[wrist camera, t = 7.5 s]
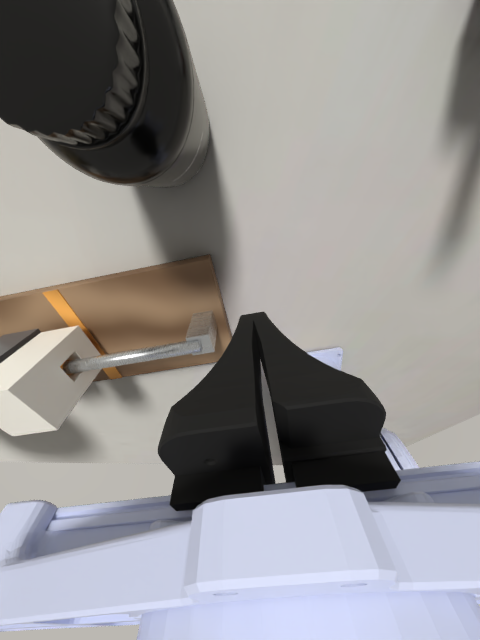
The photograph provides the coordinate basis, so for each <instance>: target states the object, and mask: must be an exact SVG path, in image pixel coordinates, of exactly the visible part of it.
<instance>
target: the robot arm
mask: <svg viewBox="0 0 480 640" xmlns="http://www.w3.org/2000/svg"><path fill="white" fill-rule="evenodd" d="M337 354H338V355H337ZM342 356H343V350H342V349H341V348H332V349H326V350H319V351H313V352H307V353H306V352H305V351H303V350H302V349H300V348H299V347H298V346H296V345H295V344H294V343H292V342H291V341H290V340H289V339H288V338H287V337H286V336H284V335H283V334H282V333H281V332H280V331H279V330H278V328H277V327H276V326H275V325H274V324H273V323H272V322H271V320H270V319H269V318H268V316H267V315H266V313H265V312H258V313H253V314H247V315H242V316H241V317H240V319H239V323H238V325H237V328H236V330H235V333H234V335H233V337H232V339H231V341H230V343H229V344H228V346H227V348H226V350H225V351H224V353H223V355H222V356H221V358H220V359H219V360H218V362H217V363H216V364H215V366H214V367H213V368H212V369H211V371H210V372H209V373H208V374H207V375H206V376H205V378H204V379H203V380H202V381H201V382H200V383H199V384H198V385H197V386H196V387H195V388H194V389H192V390H191V391H190V392H189V393H188V394H187V395H186V396H184V397H183V398H182V399H181V400H180V401H178V402H177V403H176V404H175V405H173V406H172V407H171V409H170V412H169V415H168V417H167V419H166V422H165V425H164V428H163V432H162V435H161V439H160V442H159V446H158V454H159V456H160V458H161V460H162V461H163V462H164V463H165V464H166V466H167V467H168V468H169V469H170V470H171V471H172V473H173V474H174V475H175V479H174V484H173V489H172V494H171V495H169V496H161V497H152V498H142V499H133V500H124V501H115V502H106V503H98V504H88V505H79V506H70V507H60V508H57V507H56V506H55V505H54V504H52V503H50V502H47V501H43V500H31V501H22V502H15V503H10V504H7V505H6V506H5V508H4V510H3V511H2V512H1V513H0V632H1V631H17V630H18V631H19V630H34V629H35V630H36V629H55V628H76V627H98V626H119V625H140V626H139V631H138V636H137V640H480V607H479V605H478V604H480V461H477V462H468V463H459V464H450V465H441V466H432V467H423V468H419V467H418V465H417V463H416V462H415V460H414V459H413V458H412V456H411V454H410V453H409V451H408V450H407V448H406V447H405V446H404V444H403V443H402V441H401V440H400V439H399V438H398V436H397V435H396V434H395V433H393V432H391V431H388V430H387V429H385V428H382V427H383V424H384V421H385V418H386V411H385V409H384V407H383V405H382V404H381V402H380V401H379V399H378V398H377V397H376V395H375V394H374V393H373V392H372V391H371V389H370V388H369V387H368V386H367V385H366V384H365V383H364V381H363V380H362V379H360V378H357V377H355V376H352V375H350V374H347V373H345V372H342V371H341V364H342ZM260 359H261V362H262V366H263V370H264V373H265V377H266V380H267V384H268V388H269V391H270V396H271V400H272V406H273V412H274V417H275V423H276V428H277V434H278V440H279V445H280V451H281V456H282V462H283V467H284V473H285V478H286V483H278V484H275V478H274V471H273V465H272V458H271V452H270V445H269V439H268V432H267V426H266V419H265V412H264V405H263V398H262V384H261V365H260Z"/></svg>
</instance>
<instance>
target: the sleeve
mask: <svg viewBox="0 0 480 640" xmlns="http://www.w3.org/2000/svg"><path fill="white" fill-rule="evenodd" d="M99 355H101V354H100V353H99V352H98V350H97V349H96V348H95V347H94V345H93V344H92V343H91V341H90V340H89V339H88V337H87V336H86V335H85V333H84V332H83V331H82V329H81V328H80V327H79V325H78V326H73V327H67V328H62V329H57V330H51V331H46V332H41V333H40V334H38V335H37V336H36V337H34V338H33V339H32V340H30V341H29V342H28V343H26V344H25V345H24V346H22V347H21V348H20V349H19V350H17V351H16V352H15V353H13V354H12V355H11V356H9V357H8V358H7V359H5V360H4V361H3V362H2V363H0V429H2V430H3V431H5V432H6V433H8V434H9V435H11V436H19V435H26V434H33V433H40V432H47V431H54V430H58V429H59V428H60V426H61V425H62V423H63V422H64V421H65V419H66V418H67V416H68V415H69V414H70V412H71V411H72V409H73V408H74V407H75V405H76V404H77V402H78V401H79V400H80V398H81V397H82V395H83V394H84V393H85V391H86V390H87V388H88V387H89V386H90V384H91V383H92V381H93V380H94V379H95V377H96V376H97V374H98V373H99V372H100V370H101V369H96V370H90V371H84V372H78V373H73V374H71V375H67V374H66V373H65V372H64V371H63V370H62V369H61V368H60V366H61V365H62V364H63V363H64V362H65V361H66V360H75V359H81V358H87V357H93V356H99Z"/></svg>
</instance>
